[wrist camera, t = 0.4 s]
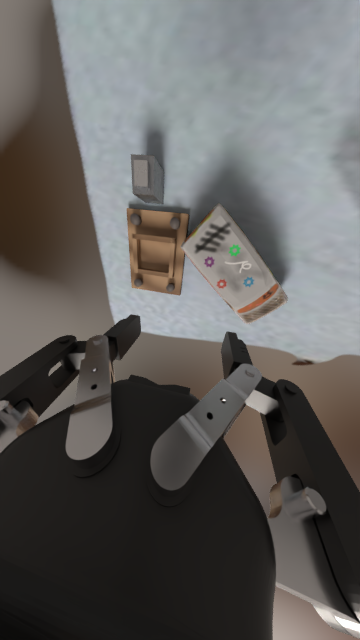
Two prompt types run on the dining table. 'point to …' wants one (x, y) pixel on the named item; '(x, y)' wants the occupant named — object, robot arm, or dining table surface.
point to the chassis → (157, 249)
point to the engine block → (147, 178)
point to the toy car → (233, 266)
